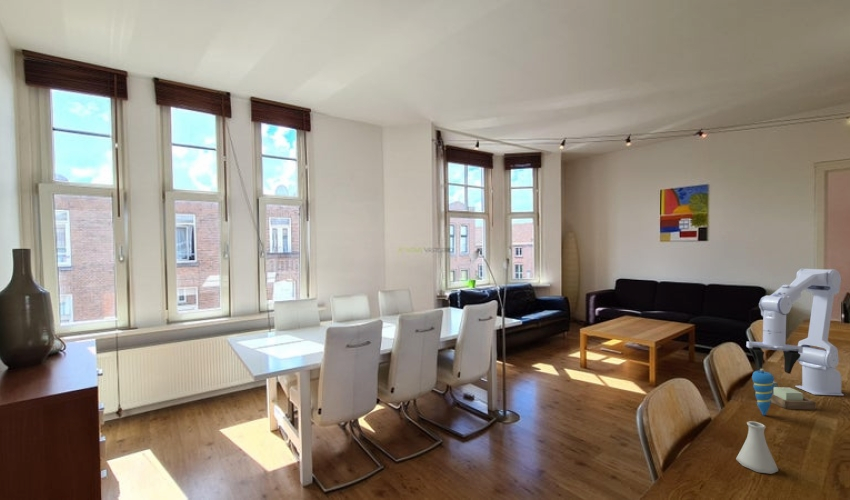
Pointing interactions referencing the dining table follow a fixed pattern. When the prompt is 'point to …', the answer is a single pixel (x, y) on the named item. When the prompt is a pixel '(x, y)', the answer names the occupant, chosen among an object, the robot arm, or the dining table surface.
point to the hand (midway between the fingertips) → (773, 371)
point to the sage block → (787, 393)
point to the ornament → (763, 389)
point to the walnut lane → (793, 403)
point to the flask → (756, 451)
